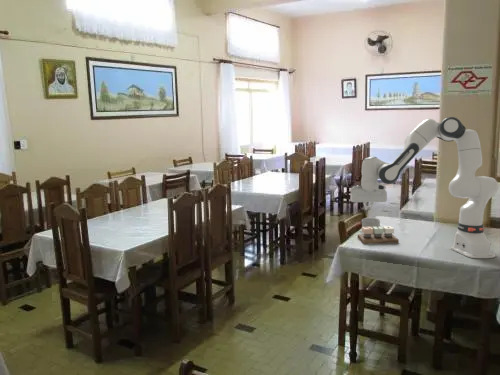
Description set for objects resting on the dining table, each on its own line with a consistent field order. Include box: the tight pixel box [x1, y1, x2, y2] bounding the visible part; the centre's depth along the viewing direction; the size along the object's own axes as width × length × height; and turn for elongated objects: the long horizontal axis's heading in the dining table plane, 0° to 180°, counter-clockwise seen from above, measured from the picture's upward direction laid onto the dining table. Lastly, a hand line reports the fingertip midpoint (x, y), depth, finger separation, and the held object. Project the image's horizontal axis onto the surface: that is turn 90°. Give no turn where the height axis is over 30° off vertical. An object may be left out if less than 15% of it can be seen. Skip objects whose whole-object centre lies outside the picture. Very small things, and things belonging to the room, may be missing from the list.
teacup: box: [361, 217, 381, 228], centre depth 269 cm, size 14×11×8 cm
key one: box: [382, 225, 395, 237], centre depth 252 cm, size 5×5×5 cm
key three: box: [361, 226, 374, 237], centre depth 251 cm, size 5×5×5 cm
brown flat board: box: [357, 233, 400, 245], centre depth 252 cm, size 12×20×2 cm, turn 91°
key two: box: [372, 225, 384, 237], centre depth 252 cm, size 5×5×5 cm
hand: (368, 209), depth 250 cm, fingers closed
